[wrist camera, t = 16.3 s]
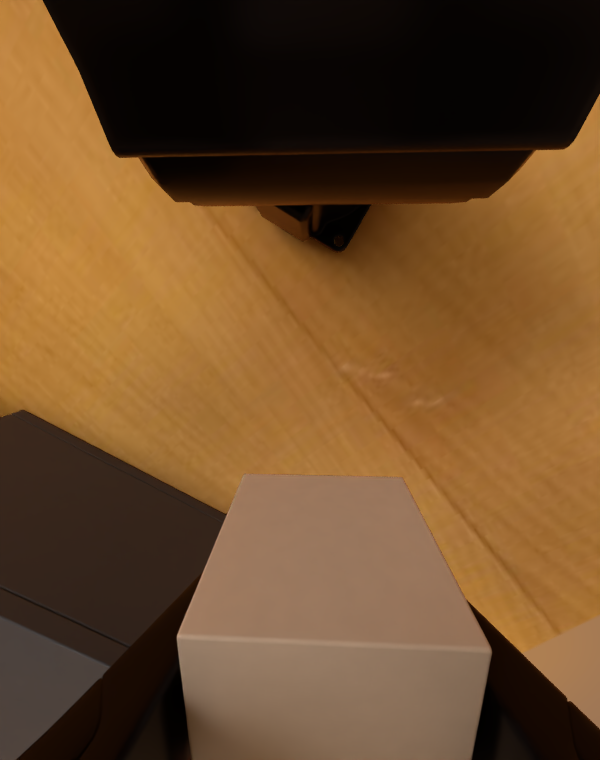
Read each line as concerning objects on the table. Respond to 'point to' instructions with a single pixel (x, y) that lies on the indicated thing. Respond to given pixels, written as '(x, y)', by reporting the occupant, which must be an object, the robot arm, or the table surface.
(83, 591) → the cabinet
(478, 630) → the block
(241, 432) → the table surface
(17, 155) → the table surface
